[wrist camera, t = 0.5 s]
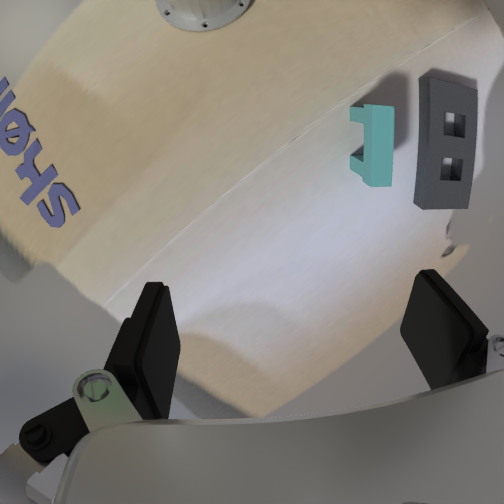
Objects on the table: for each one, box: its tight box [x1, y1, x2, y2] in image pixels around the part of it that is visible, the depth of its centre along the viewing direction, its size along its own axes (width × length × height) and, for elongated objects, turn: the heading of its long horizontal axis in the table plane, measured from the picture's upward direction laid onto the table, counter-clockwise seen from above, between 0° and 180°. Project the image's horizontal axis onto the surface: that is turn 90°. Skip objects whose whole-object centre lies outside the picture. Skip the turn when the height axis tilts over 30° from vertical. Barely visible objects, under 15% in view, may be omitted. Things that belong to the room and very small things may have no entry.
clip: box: [350, 104, 394, 187], centre depth 36 cm, size 10×3×8 cm, turn 4°
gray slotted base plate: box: [413, 78, 478, 210], centre depth 38 cm, size 20×10×3 cm, turn 4°
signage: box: [0, 77, 80, 228], centre depth 37 cm, size 28×1×10 cm
